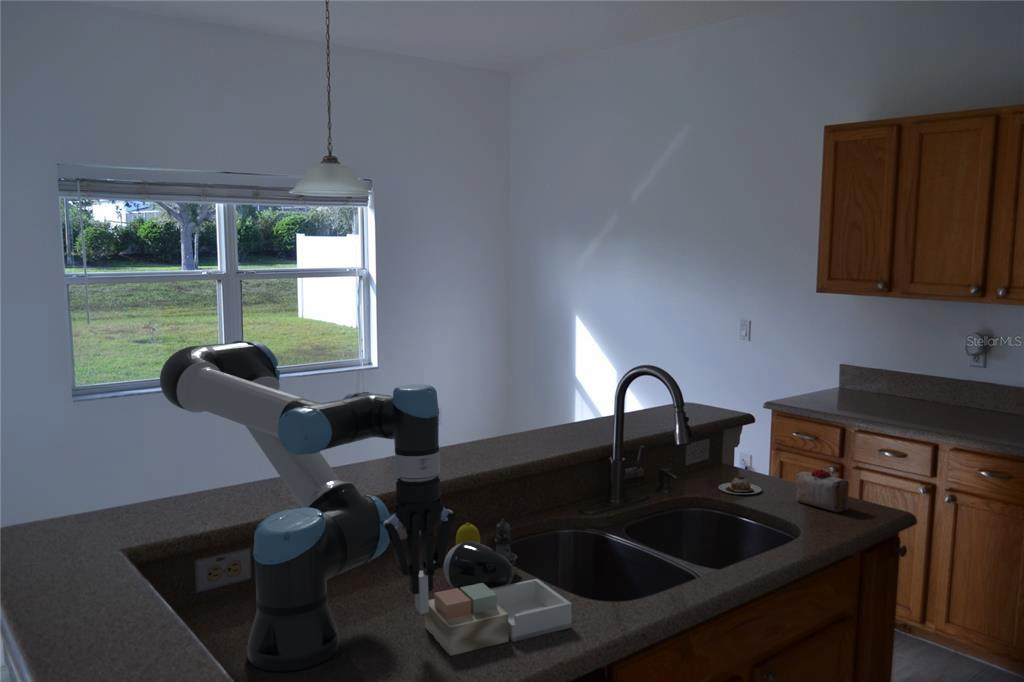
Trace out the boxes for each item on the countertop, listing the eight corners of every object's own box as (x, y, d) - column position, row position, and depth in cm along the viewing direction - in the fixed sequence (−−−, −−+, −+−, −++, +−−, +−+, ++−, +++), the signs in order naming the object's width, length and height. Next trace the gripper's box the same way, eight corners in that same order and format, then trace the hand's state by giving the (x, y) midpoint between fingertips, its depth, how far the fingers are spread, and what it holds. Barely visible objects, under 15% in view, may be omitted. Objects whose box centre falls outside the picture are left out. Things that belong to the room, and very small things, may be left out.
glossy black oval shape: (444, 532, 160) (501, 540, 151) (476, 547, 167) (532, 556, 157) (428, 582, 156) (485, 594, 147) (461, 596, 163) (518, 608, 153)
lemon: (452, 560, 177) (452, 526, 176) (460, 552, 182) (459, 518, 181) (476, 562, 176) (476, 527, 175) (483, 553, 181) (482, 519, 180)
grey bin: (512, 641, 138) (512, 617, 138) (481, 613, 150) (481, 590, 149) (571, 627, 143) (571, 603, 143) (537, 600, 155) (537, 578, 155)
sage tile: (473, 613, 138) (473, 599, 138) (460, 600, 144) (460, 587, 143) (496, 608, 140) (496, 594, 140) (482, 595, 146) (482, 582, 145)
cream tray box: (450, 655, 133) (449, 627, 133) (425, 627, 144) (424, 601, 144) (508, 641, 138) (508, 613, 138) (480, 615, 149) (479, 589, 149)
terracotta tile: (447, 619, 136) (446, 605, 136) (434, 606, 141) (434, 592, 141) (471, 614, 138) (470, 600, 138) (457, 601, 143) (457, 588, 143)
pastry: (763, 498, 222) (763, 482, 222) (719, 496, 225) (719, 480, 225) (759, 487, 234) (760, 472, 234) (718, 485, 237) (718, 470, 236)
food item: (790, 502, 218) (791, 467, 217) (808, 497, 222) (809, 462, 221) (834, 514, 207) (835, 477, 206) (852, 509, 211) (853, 472, 210)
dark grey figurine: (484, 575, 168) (484, 520, 167) (498, 565, 173) (497, 512, 172) (509, 580, 166) (508, 524, 164) (522, 570, 171) (521, 516, 170)
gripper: (387, 486, 128) (392, 626, 130) (461, 476, 134) (465, 610, 136) (374, 476, 135) (379, 609, 137) (445, 466, 141) (449, 595, 143)
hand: (422, 610), depth 137 cm, fingers closed
